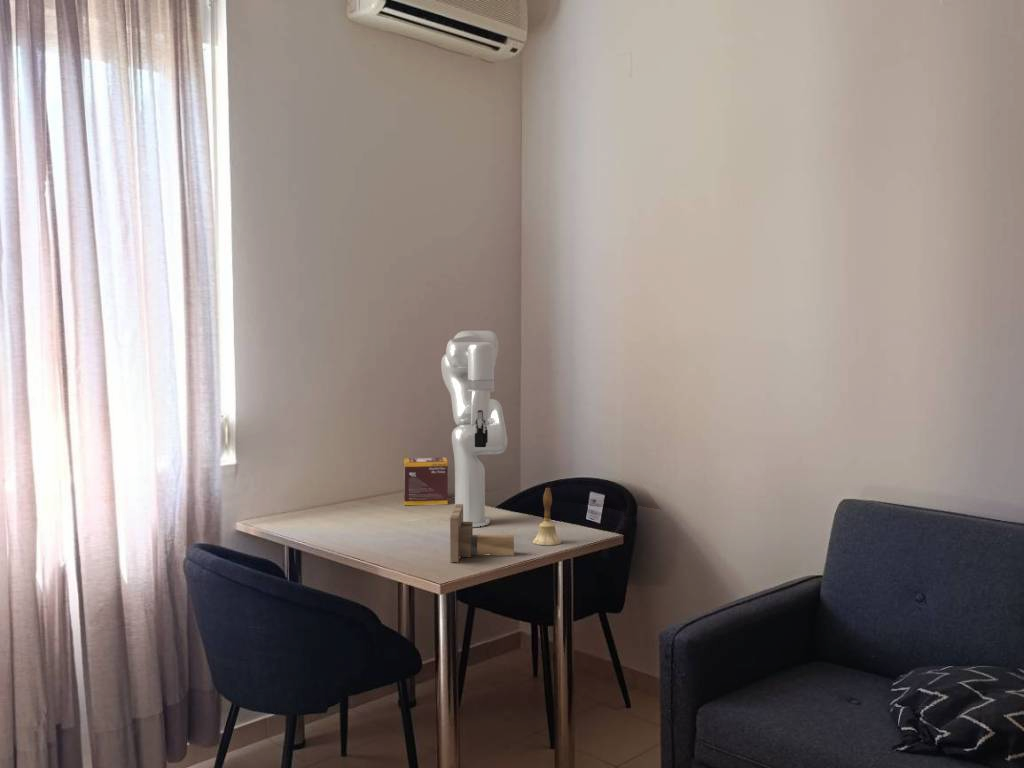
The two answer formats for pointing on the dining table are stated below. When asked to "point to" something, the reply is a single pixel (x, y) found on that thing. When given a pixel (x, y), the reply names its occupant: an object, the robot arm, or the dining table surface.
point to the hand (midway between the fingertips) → (481, 445)
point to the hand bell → (547, 524)
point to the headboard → (460, 535)
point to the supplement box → (425, 481)
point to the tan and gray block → (492, 544)
